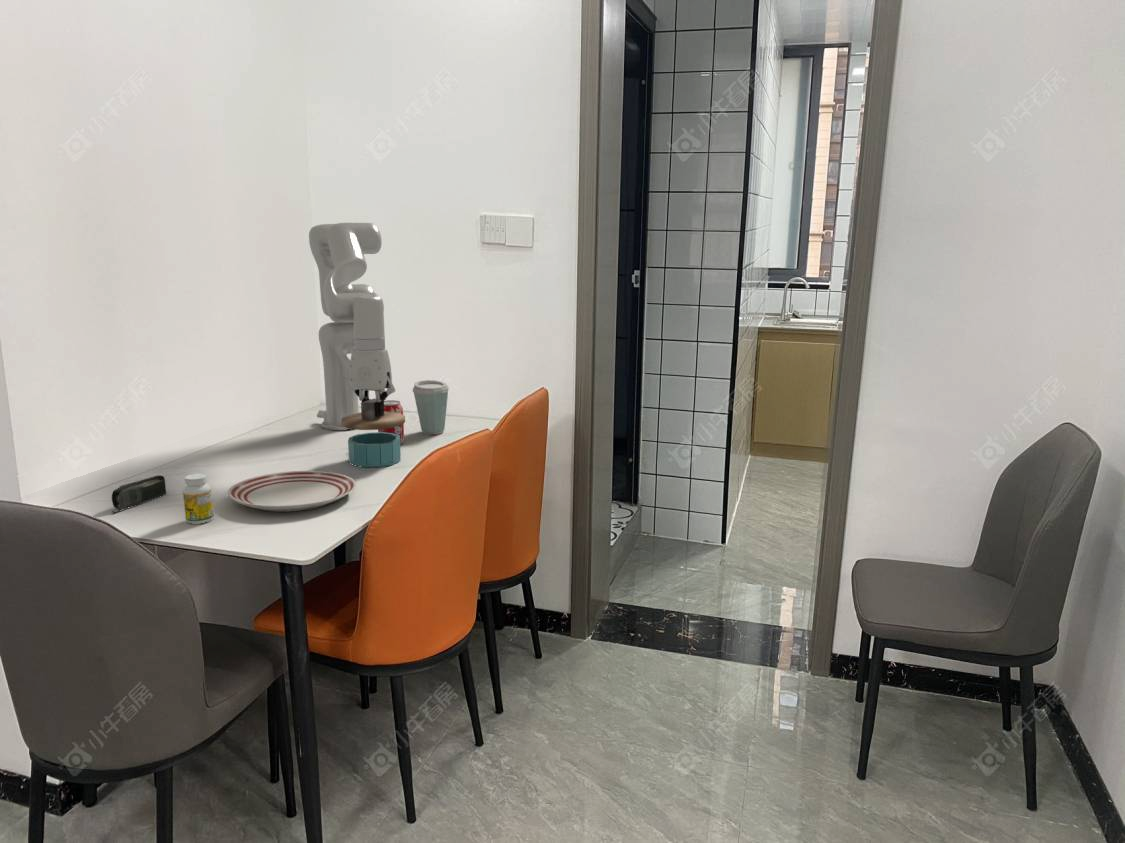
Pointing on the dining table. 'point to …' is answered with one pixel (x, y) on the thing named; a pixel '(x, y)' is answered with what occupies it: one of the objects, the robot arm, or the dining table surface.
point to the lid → (372, 418)
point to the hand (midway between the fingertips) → (373, 415)
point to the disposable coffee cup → (431, 405)
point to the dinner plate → (291, 490)
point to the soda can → (397, 408)
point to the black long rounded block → (138, 492)
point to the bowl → (374, 449)
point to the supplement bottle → (197, 499)
